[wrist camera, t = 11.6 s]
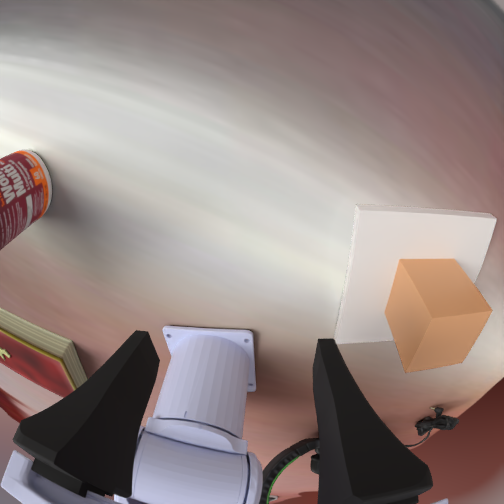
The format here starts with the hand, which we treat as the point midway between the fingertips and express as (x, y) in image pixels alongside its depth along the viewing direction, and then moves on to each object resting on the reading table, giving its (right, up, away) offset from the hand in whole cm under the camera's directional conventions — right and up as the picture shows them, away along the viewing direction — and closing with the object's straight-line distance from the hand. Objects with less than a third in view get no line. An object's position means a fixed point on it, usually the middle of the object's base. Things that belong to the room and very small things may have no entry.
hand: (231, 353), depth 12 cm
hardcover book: (-31, -9, +20) cm, 38 cm away
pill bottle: (-18, +10, +7) cm, 21 cm away
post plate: (+14, +2, +9) cm, 16 cm away
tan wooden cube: (+14, +2, +8) cm, 16 cm away
